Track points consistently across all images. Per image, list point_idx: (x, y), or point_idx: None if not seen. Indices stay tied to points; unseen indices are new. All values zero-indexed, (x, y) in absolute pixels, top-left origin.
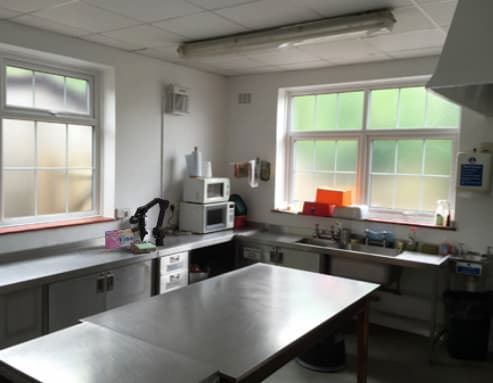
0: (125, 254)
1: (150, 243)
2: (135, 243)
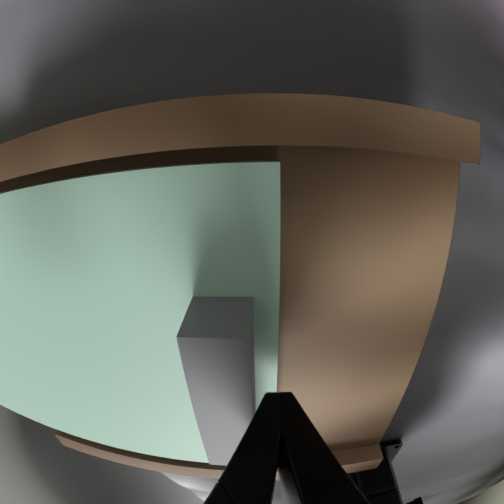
0: (22, 19)
1: (182, 455)
2: (442, 251)
